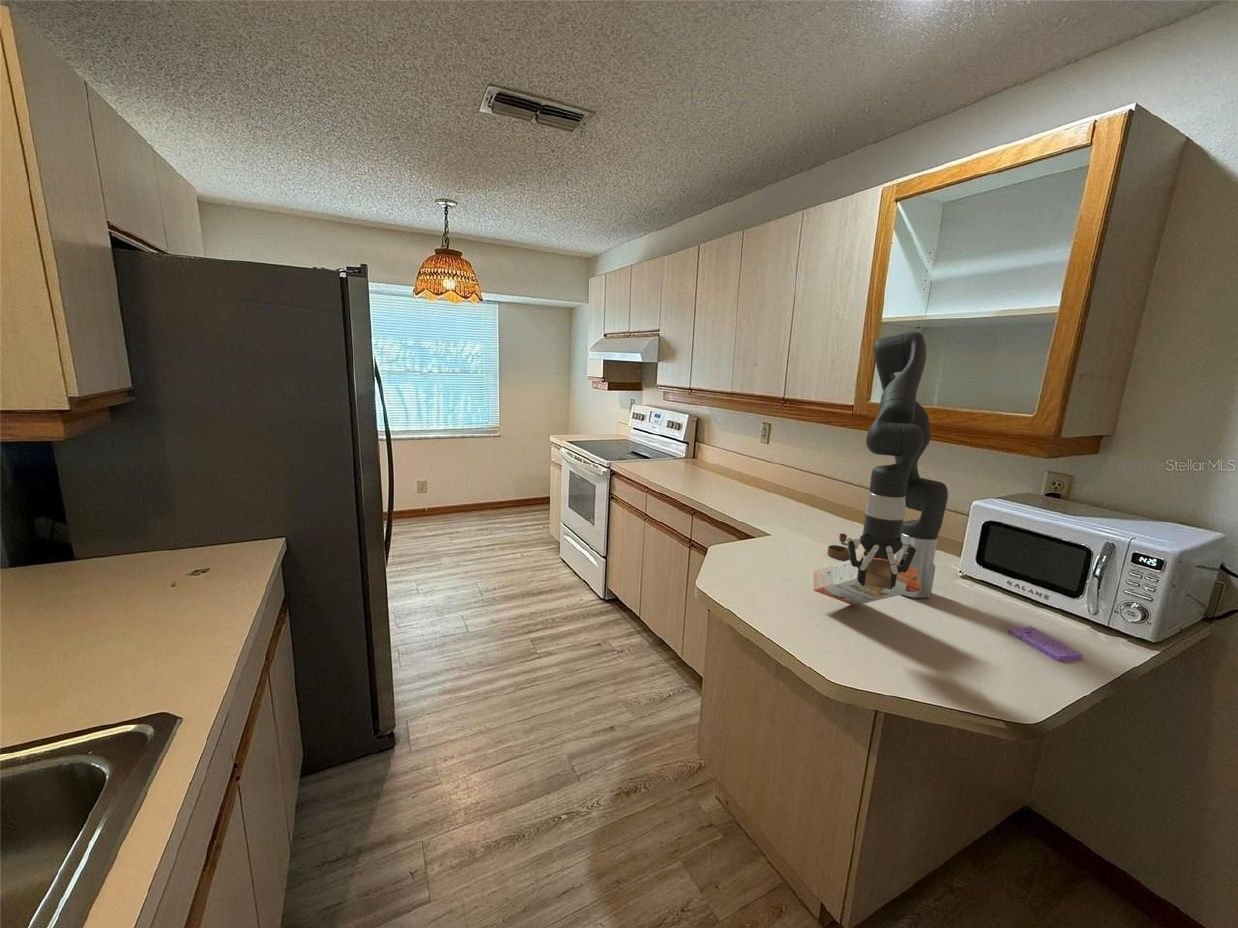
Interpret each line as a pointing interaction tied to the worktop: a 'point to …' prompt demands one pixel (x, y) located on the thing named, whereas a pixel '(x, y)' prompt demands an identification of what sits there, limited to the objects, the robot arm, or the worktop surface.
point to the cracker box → (847, 589)
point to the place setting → (839, 549)
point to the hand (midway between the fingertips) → (875, 585)
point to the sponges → (1045, 644)
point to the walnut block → (878, 574)
